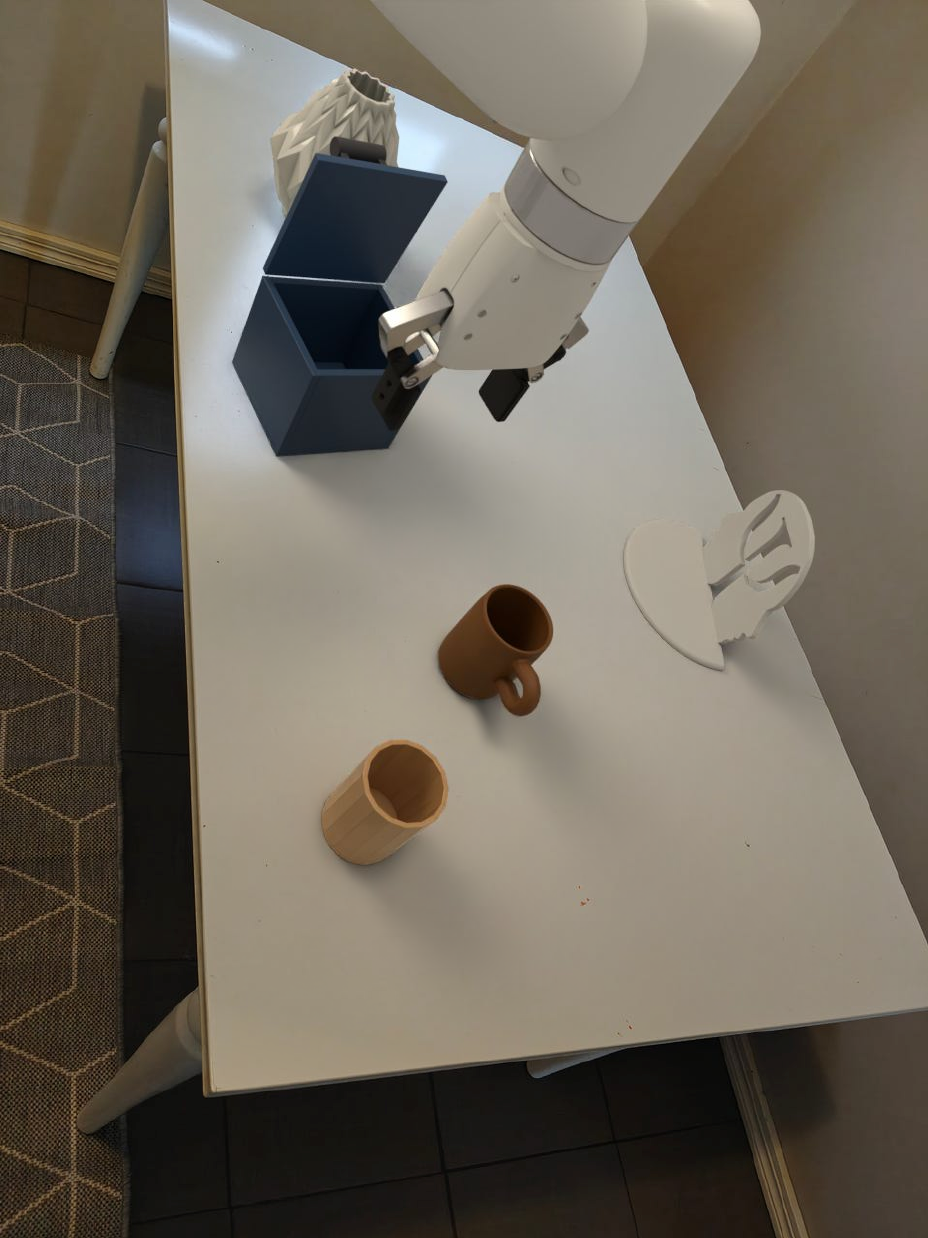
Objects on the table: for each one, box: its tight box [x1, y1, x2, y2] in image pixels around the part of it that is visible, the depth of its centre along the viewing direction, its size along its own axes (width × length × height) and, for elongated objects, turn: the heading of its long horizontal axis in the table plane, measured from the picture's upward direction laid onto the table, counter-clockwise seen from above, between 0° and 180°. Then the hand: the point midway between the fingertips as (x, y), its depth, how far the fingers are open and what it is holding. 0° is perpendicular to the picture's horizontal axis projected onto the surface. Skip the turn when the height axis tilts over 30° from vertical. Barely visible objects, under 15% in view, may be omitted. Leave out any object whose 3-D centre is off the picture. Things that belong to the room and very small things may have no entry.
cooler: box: [231, 275, 433, 457], centre depth 87 cm, size 13×14×11 cm
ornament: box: [622, 489, 816, 671], centre depth 99 cm, size 22×13×17 cm, turn 178°
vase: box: [269, 67, 400, 217], centre depth 102 cm, size 16×16×18 cm
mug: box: [438, 583, 554, 717], centre depth 79 cm, size 12×8×9 cm, turn 14°
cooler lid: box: [262, 136, 448, 284], centre depth 80 cm, size 13×14×5 cm
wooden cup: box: [320, 739, 450, 866], centre depth 66 cm, size 7×7×9 cm
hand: (439, 410), depth 61 cm, fingers open, 9 cm apart
